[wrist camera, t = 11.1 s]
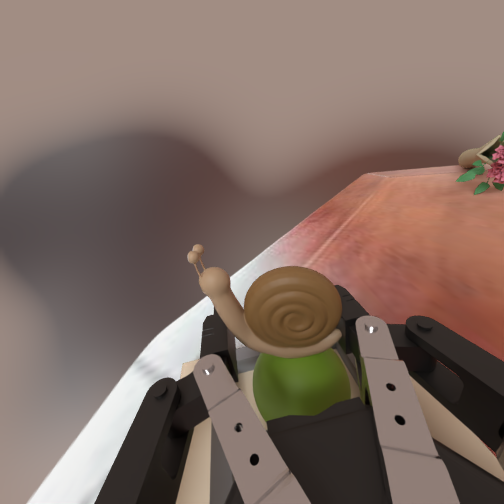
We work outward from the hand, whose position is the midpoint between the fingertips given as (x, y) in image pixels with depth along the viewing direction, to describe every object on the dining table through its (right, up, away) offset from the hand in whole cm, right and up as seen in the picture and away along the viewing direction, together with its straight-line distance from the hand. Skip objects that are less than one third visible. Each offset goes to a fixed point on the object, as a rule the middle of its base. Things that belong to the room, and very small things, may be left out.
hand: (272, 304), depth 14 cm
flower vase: (+49, +18, +36) cm, 64 cm away
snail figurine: (+2, -7, +1) cm, 7 cm away
